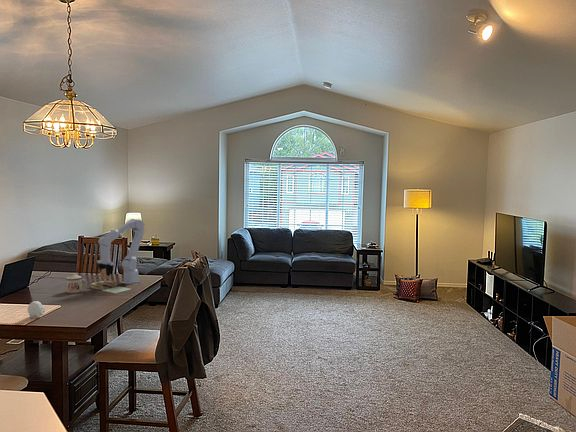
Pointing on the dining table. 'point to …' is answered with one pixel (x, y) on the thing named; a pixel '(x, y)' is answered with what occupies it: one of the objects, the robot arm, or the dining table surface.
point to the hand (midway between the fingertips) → (105, 275)
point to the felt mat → (116, 289)
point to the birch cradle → (99, 284)
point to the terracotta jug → (104, 274)
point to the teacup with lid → (74, 283)
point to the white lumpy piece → (35, 309)
